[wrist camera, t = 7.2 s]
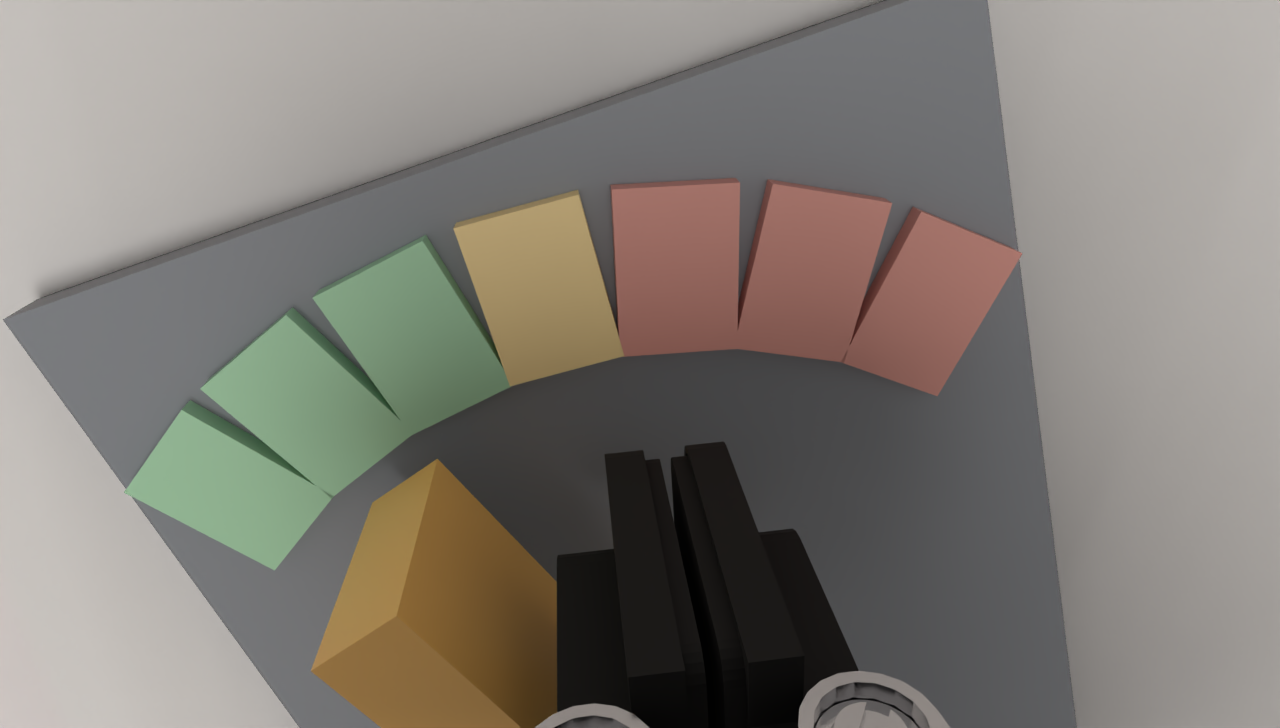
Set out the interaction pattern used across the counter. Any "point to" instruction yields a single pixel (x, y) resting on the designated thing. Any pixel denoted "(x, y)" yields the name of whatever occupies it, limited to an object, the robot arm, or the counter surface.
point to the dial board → (624, 356)
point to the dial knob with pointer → (442, 616)
